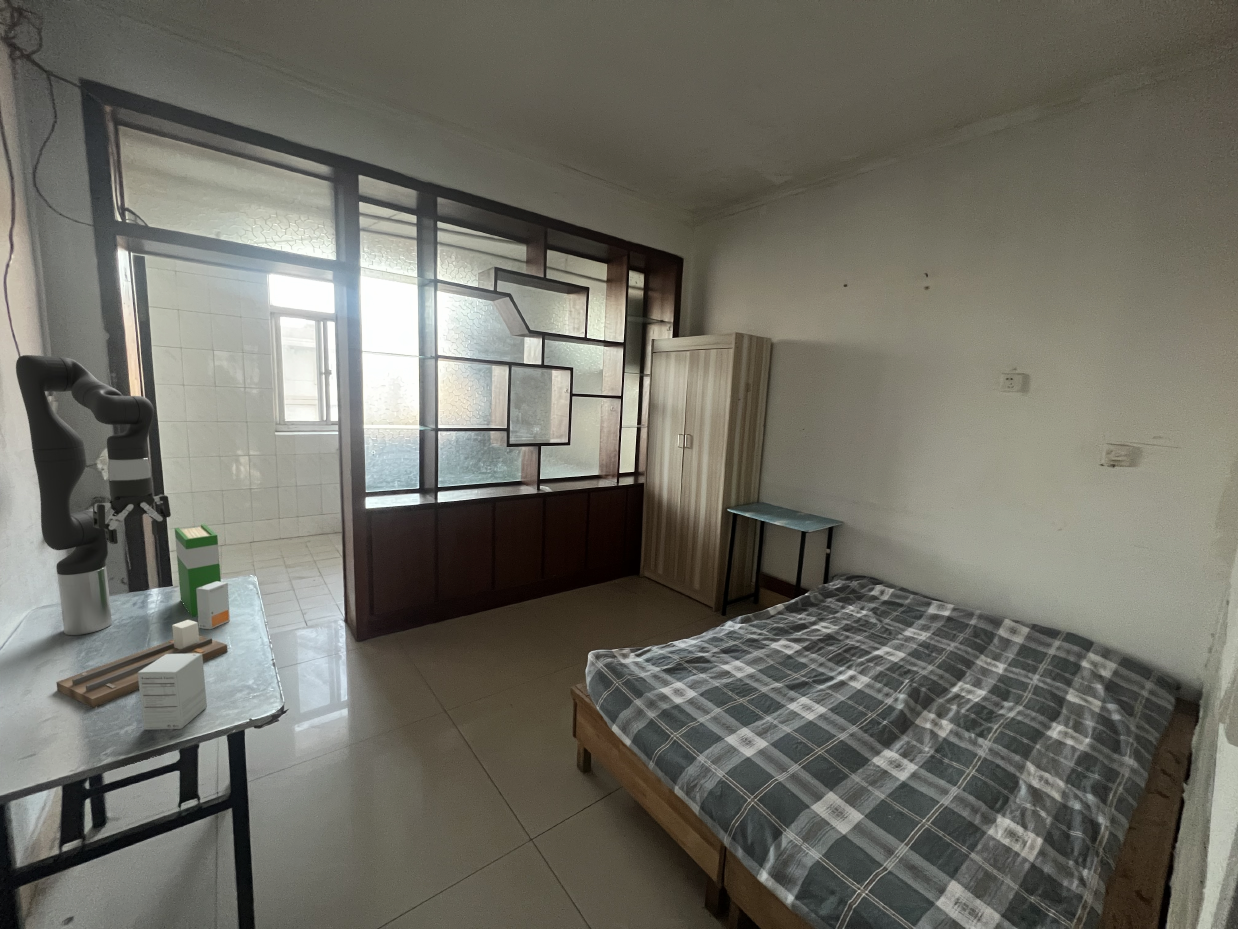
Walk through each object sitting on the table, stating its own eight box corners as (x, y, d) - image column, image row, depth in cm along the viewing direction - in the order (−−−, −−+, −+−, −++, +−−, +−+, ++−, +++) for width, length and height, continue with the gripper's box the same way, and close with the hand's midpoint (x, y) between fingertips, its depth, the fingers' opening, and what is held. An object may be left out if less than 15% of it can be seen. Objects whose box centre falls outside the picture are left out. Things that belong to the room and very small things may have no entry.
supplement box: (171, 708, 106) (166, 652, 104) (208, 707, 107) (203, 652, 105) (141, 730, 99) (135, 672, 97) (181, 729, 100) (176, 671, 98)
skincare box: (210, 630, 140) (207, 590, 139) (198, 628, 141) (195, 588, 140) (231, 621, 146) (228, 582, 145) (219, 619, 147) (216, 580, 146)
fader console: (57, 690, 111) (55, 677, 110) (192, 639, 135) (191, 628, 134) (93, 707, 105) (91, 693, 105) (227, 651, 129) (226, 640, 129)
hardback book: (180, 600, 159) (174, 528, 156) (210, 594, 165) (204, 524, 162) (191, 617, 148) (185, 539, 145) (222, 609, 153) (217, 534, 150)
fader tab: (174, 647, 126) (172, 625, 125) (190, 641, 129) (188, 619, 129) (183, 650, 125) (181, 628, 124) (199, 644, 128) (197, 622, 127)
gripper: (156, 471, 131) (161, 530, 133) (82, 478, 118) (89, 544, 120) (173, 474, 128) (178, 534, 130) (99, 481, 115) (106, 549, 117)
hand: (135, 539), depth 125 cm, fingers open, 8 cm apart
